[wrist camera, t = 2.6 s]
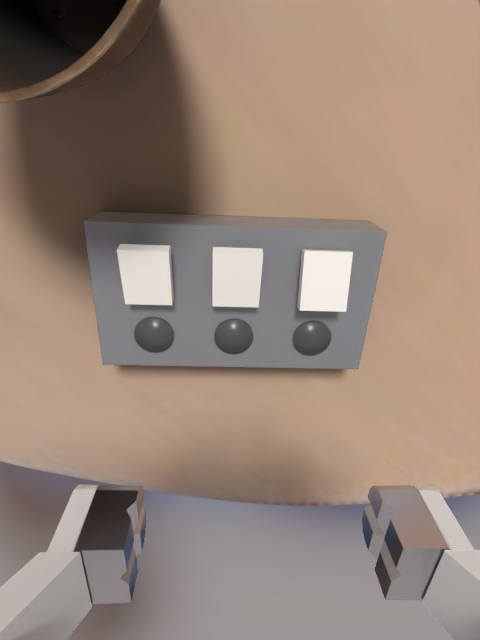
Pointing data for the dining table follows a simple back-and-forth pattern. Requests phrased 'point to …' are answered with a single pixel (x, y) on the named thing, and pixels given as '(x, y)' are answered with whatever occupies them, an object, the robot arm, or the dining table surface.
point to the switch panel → (231, 322)
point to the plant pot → (65, 42)
